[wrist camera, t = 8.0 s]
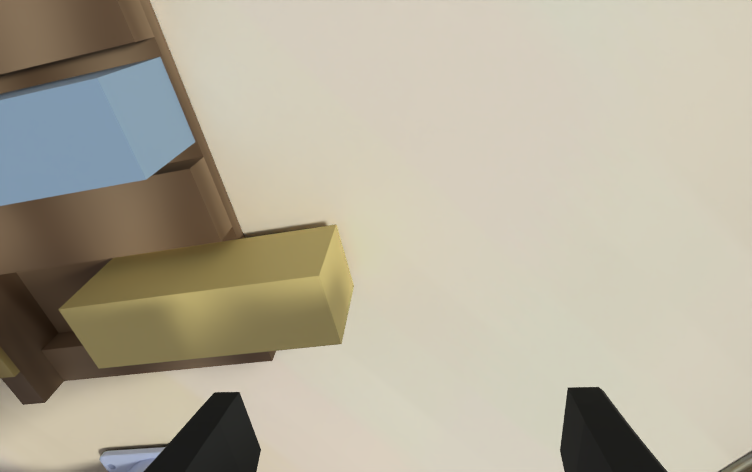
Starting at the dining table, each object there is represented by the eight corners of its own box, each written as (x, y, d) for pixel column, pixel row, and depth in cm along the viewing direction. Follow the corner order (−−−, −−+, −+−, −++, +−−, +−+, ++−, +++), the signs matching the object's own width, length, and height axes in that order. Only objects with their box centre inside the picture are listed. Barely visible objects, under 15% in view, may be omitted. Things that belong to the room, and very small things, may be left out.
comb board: (136, -32, 15) (66, -32, 12) (282, 333, 22) (261, 389, 19) (-154, 47, 17) (-275, 63, 14) (67, 356, 24) (18, 409, 21)
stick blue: (-29, 185, 19) (-116, 226, 16) (-79, 112, 17) (-185, 142, 14) (195, 141, 17) (146, 179, 14) (160, 56, 16) (97, 78, 12)
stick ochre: (335, 224, 18) (318, 275, 15) (353, 286, 20) (341, 344, 17) (113, 257, 20) (58, 309, 17) (144, 312, 21) (98, 368, 18)
